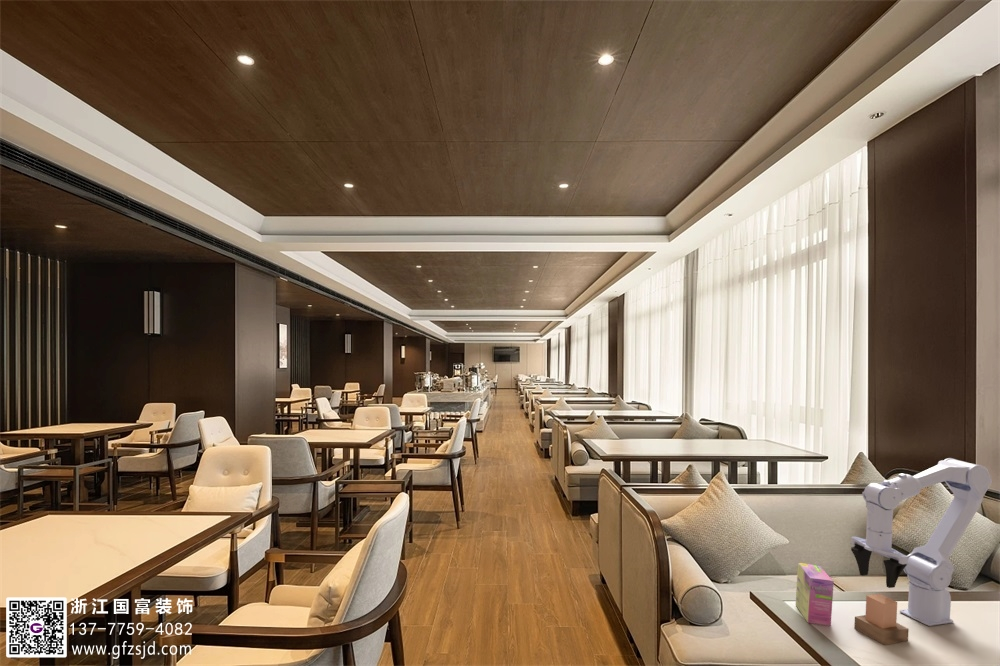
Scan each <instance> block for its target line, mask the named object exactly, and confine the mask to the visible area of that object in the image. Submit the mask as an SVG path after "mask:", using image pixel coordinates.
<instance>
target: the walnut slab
mask: <svg viewBox="0 0 1000 666" xmlns="http://www.w3.org/2000/svg"><path fill="white" fill-rule="evenodd" d="M865 616H866V614H864V615H859V616H858V615H857V616H854V624H853V625H854V630H856V631H858V632H859V633H862V634H864V635H866V636H868V637H869V638H871V639H873V640H874V639H875V640H874V641H876V640H877V641H876V642H878V641H879V642H878V643H880V644H881V645H884V646H886V645H893V644H899V643H904V642H909V632H910V631H909V630H910V629H909V627H906V626H904V625H902V624H900V623H898V622H896V626H894V627H888V628H881V627H879V626H877V625H875V624H873V623H871V622H870V621H868V620H866V619H865Z"/></svg>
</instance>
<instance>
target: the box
mask: <svg viewBox="0 0 1000 666" xmlns="http://www.w3.org/2000/svg"><path fill="white" fill-rule="evenodd" d="M796 573H797V575H796V590H795V592H796V594H795V606H796V607H797V608H798V610H799V612H800V613H801V615H802V616H803V618H804V619H805V621H806V623H808V624H812V625H818V626H819V625H820V626H825V627H826V625H827V627H831V626H832V611H833V598H834V597H833V596H834V583H835V581H834V580H833V579H832V578H831V576H829V575H828V573H827V572H826V571H825V570H824V569H823V568H822V566H821V565H817V564H811V563H804V562H798V563H797V572H796Z"/></svg>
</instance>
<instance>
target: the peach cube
mask: <svg viewBox="0 0 1000 666" xmlns="http://www.w3.org/2000/svg"><path fill="white" fill-rule="evenodd" d="M865 597H866V599H865V615H866V616H865V619H866V620H868V621H870V622H871V623H873V624H875V625H877V626H879V627H881V628H888V627H894V626H896V623H897V620H898V619H897V615H898V601H896V600H894V599H892V598H890V597H887V596H886V595H883V594H881V593H875V594H867V595H866V596H865Z"/></svg>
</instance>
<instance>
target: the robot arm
mask: <svg viewBox="0 0 1000 666" xmlns="http://www.w3.org/2000/svg"><path fill="white" fill-rule="evenodd" d="M940 483H945V484H946V485H947V486H948V488H949V490H950V491H951V492H952V494H953V496H954V497H953V499H952V501H951V502H950V503H949V505H948V507H947V508H946V510H945V512H944V514H943V516H942V517H941V519H940V521H939V522H938V524H937V525H936V527H935V528H934V530H933V531H932V534H931V535H930V537H929V539H928V541H927V542H926V544H925V545H920V546H917V547H914V548H913V549H912V552H910V553H909V554H907V555H906V554H904V553H901V552H900V551H898V550H896V549H894V548H892V546H893V545H892V543H893V525H894V524H893V521H894V510H895V509H896V508H897V507H898V506H899V504H900V503H901V502H903V501H905V500H907V499H911V498H913V497H915V496H919V495H920V493H921V492H922V489H924V488H926V487H927V488H928V487H930V486H933V485H936V484H937V485H938V484H940ZM992 483H993V481H992V477H991V474H990V472H989V470H988V468H987V467H986V466H984V465H981V464H975V463H970V462H967V461H963V460H959V459H956V458H952V457H948V458H945V459H944V460H943V459H942V460H939V461H938V462H937V464H936V465H934V466H932V467H929V468H928V469H925V470H923V471H921V472H919V473H916V474H914V475H911V474H908V473H899V474H897V476H896V477H894V478H891V479H885V480H883V481H882V482H880V483H877V482H870V483H869V484H868V485H867V486H865V488H864V490H863V491H862V493H861V494H862V498H863V500H864V501H865V507H866V530H865V531H866V532H865V534H866V535H865V538H861V537H858V536H851V537H850V539H851V540H850V544H851V545H853V546H851V548H850V550H851V552H852V554H853V556H854V557H855V561H856V564H857V567H858V571H859V575H860V576H861V577H863V576H868V574H869V571H870V570H869V569H870V559H871V555H872V553H875V554H878V555H881V556H883V557H885V558H888V559H884V560H883V564H884V568H885V574H886V575H885V578H886V579H885V583H886V584H885V585H886V588H889V589H891V588H895V587H896V584H897V581H898V579H899V577H900V575H901V574H902V572H904V573H905V574H906V575H907V577H906V578H907V579H908V597H907V598H908V603H907V608H906V609H905V608H904V609H899V612H900V613H901V614H903V615H905V616H907V617H909V618H912V619H914V620H915V621H918V622H919V623H922V624H923V625H926V626H929V627H931V626H937V625H938V626H939V625H943V624H944V625H945V624H951V623H954V619H951V606H952V604H951V603H952V596H951V594H950V590H949V589H948V587H949V585H950V584H951V582H952V576H953V573H954V571H955V567H954V565H953V562H952V561H951V559H950V557H951V555H952V554H953V551H954V550H955V548H956V547H957V545H958V543H959V541H960V540H961V538H962V537H963V535H964V534H965V532H966V530H967V528H968V527H969V525H970V524H971V522H972V520H973V518H974V517H975V514H976V513H977V511H978V510H979V508H980V507H981V506H982V502H983V500H984V496H985V495H986V492H987V491H988V489H989V488H990V486H991V484H992Z"/></svg>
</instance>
